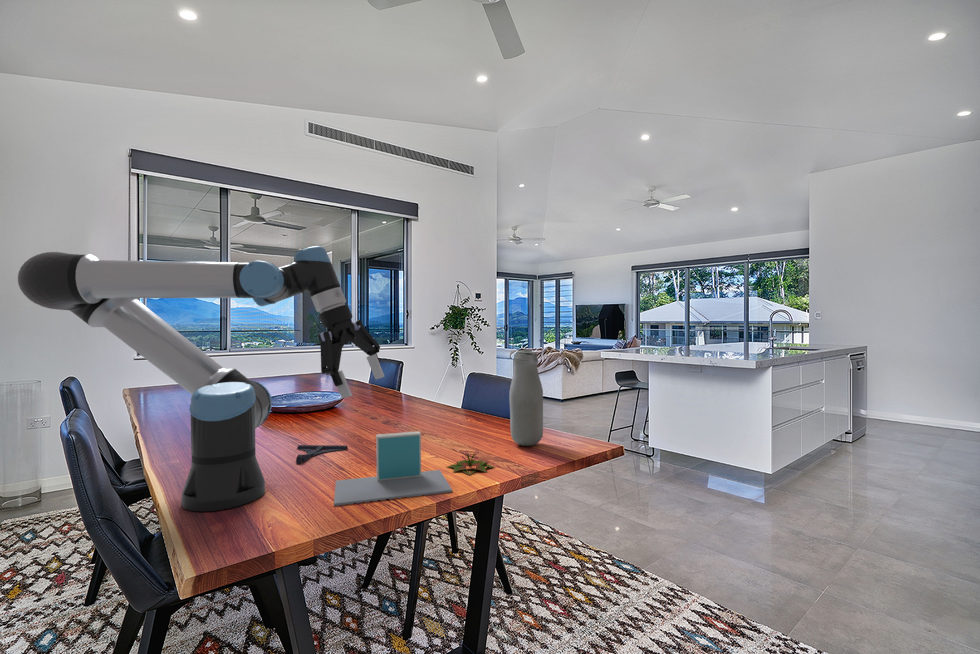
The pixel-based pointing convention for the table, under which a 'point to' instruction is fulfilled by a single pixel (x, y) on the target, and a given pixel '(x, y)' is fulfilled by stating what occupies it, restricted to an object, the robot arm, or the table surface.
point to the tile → (398, 455)
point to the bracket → (317, 451)
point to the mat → (389, 488)
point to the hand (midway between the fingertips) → (364, 387)
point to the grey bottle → (526, 400)
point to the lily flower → (470, 464)
